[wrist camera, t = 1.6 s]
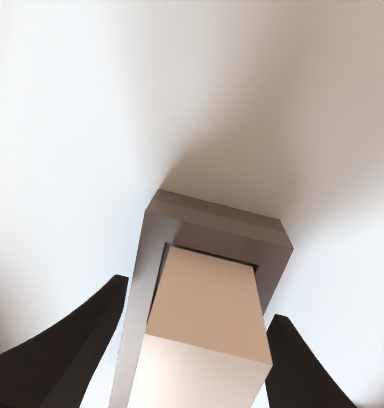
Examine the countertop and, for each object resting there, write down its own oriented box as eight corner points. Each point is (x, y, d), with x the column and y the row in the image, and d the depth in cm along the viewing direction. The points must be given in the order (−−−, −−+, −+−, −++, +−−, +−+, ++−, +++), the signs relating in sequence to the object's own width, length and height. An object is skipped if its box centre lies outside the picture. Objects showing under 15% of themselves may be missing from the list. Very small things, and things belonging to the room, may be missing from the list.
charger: (248, 248, 14) (272, 365, 8) (221, 320, 16) (224, 455, 10) (175, 230, 14) (144, 333, 8) (157, 304, 16) (121, 431, 10)
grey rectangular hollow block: (279, 220, 15) (297, 256, 12) (210, 387, 21) (209, 443, 18) (157, 189, 15) (141, 216, 12) (122, 366, 21) (104, 418, 18)
